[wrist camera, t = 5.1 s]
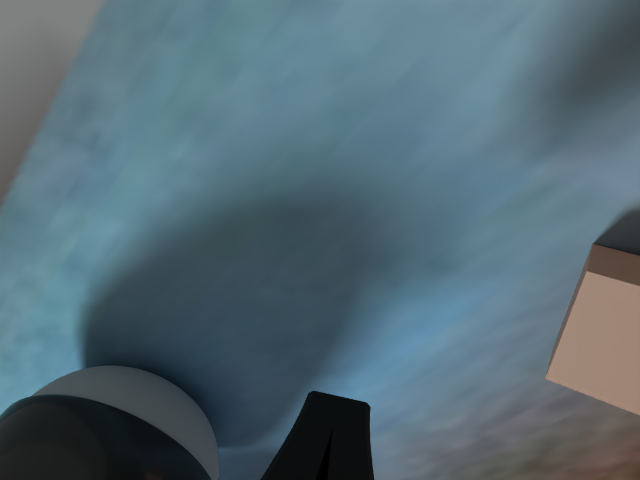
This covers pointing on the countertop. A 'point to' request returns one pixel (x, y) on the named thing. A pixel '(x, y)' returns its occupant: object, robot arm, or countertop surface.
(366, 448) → the robot arm
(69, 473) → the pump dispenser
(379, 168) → the countertop surface
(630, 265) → the end domino
